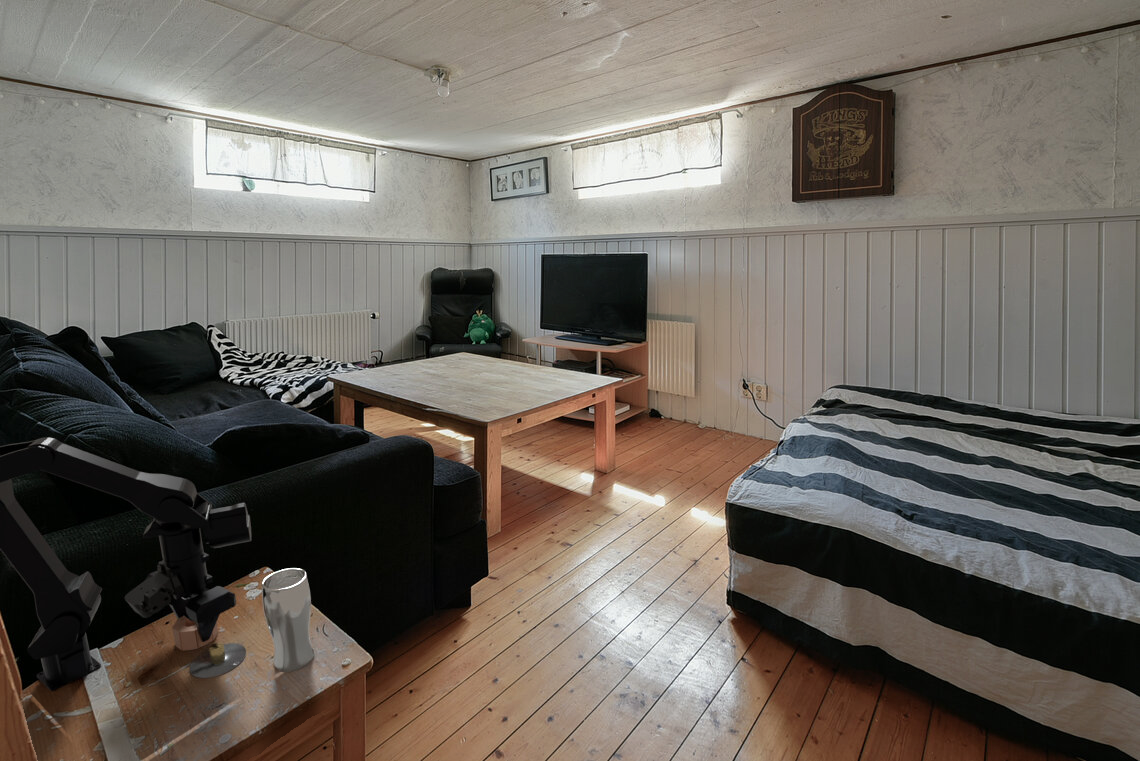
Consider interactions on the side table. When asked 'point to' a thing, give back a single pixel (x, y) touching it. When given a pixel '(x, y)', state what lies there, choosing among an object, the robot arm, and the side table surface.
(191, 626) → the octagonal hollow tube
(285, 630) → the beer glass
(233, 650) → the hub
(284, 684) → the side table surface
